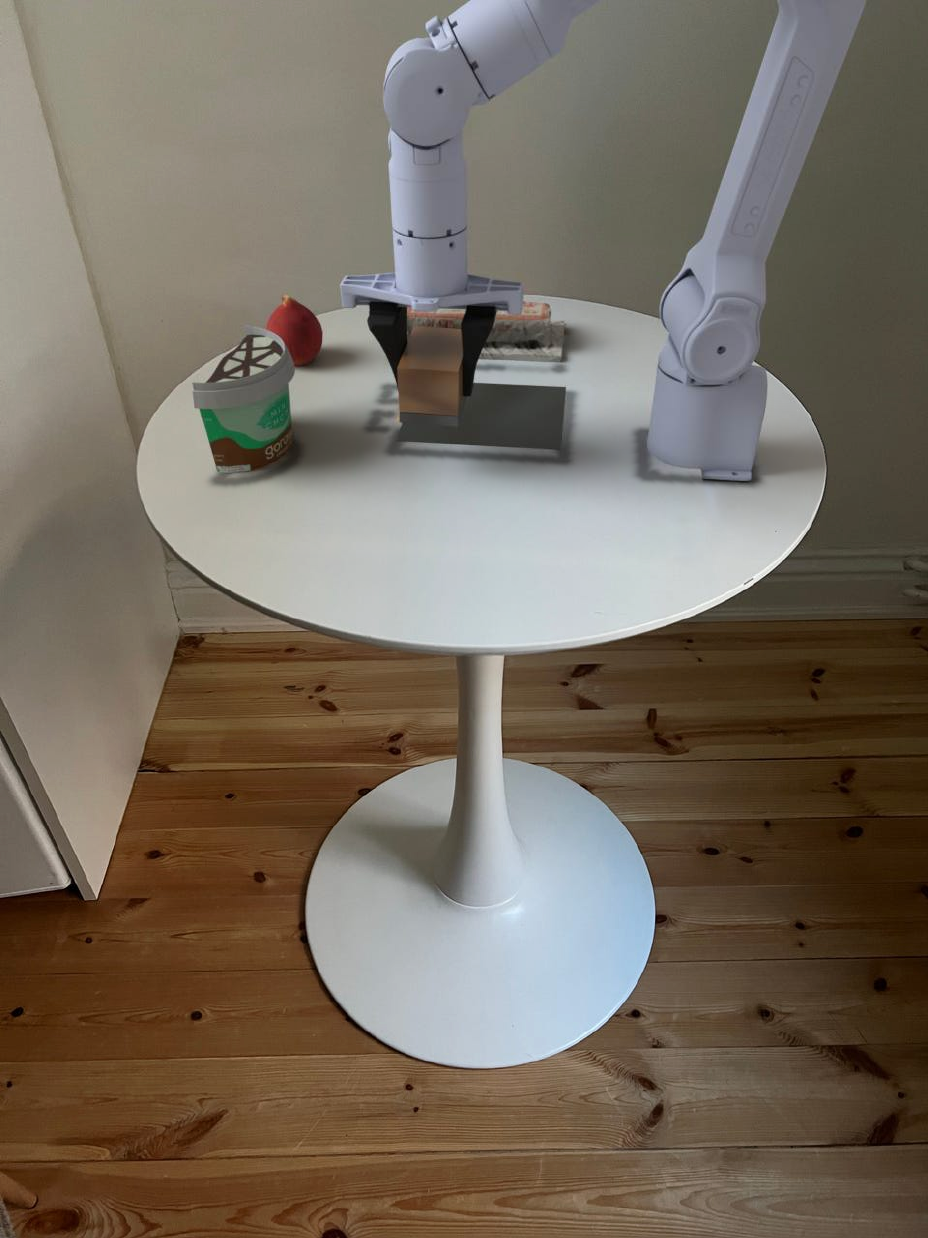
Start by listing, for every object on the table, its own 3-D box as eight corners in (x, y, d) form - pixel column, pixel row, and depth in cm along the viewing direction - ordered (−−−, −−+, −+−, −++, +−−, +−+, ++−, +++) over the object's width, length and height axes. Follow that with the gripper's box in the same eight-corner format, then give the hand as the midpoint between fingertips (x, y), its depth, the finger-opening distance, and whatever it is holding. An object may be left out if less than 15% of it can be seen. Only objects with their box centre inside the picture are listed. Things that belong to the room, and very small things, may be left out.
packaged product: (391, 320, 96) (406, 284, 103) (394, 363, 99) (408, 325, 107) (564, 326, 94) (567, 289, 102) (561, 370, 97) (564, 331, 105)
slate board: (569, 393, 94) (569, 384, 93) (564, 461, 84) (565, 451, 83) (414, 386, 95) (413, 377, 94) (391, 452, 85) (391, 442, 85)
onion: (312, 351, 102) (303, 279, 96) (335, 371, 98) (326, 298, 93) (263, 364, 99) (251, 291, 94) (284, 385, 96) (272, 310, 90)
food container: (279, 497, 80) (261, 392, 73) (213, 489, 81) (189, 385, 74) (323, 426, 89) (311, 327, 82) (263, 421, 90) (246, 322, 83)
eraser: (470, 382, 83) (471, 329, 79) (458, 427, 77) (458, 371, 73) (415, 378, 83) (414, 325, 80) (399, 422, 77) (397, 367, 74)
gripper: (324, 240, 68) (342, 407, 77) (520, 247, 66) (515, 416, 75) (345, 210, 73) (360, 369, 82) (527, 215, 72) (522, 376, 80)
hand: (435, 389), depth 79 cm, fingers closed on eraser, 5 cm apart
